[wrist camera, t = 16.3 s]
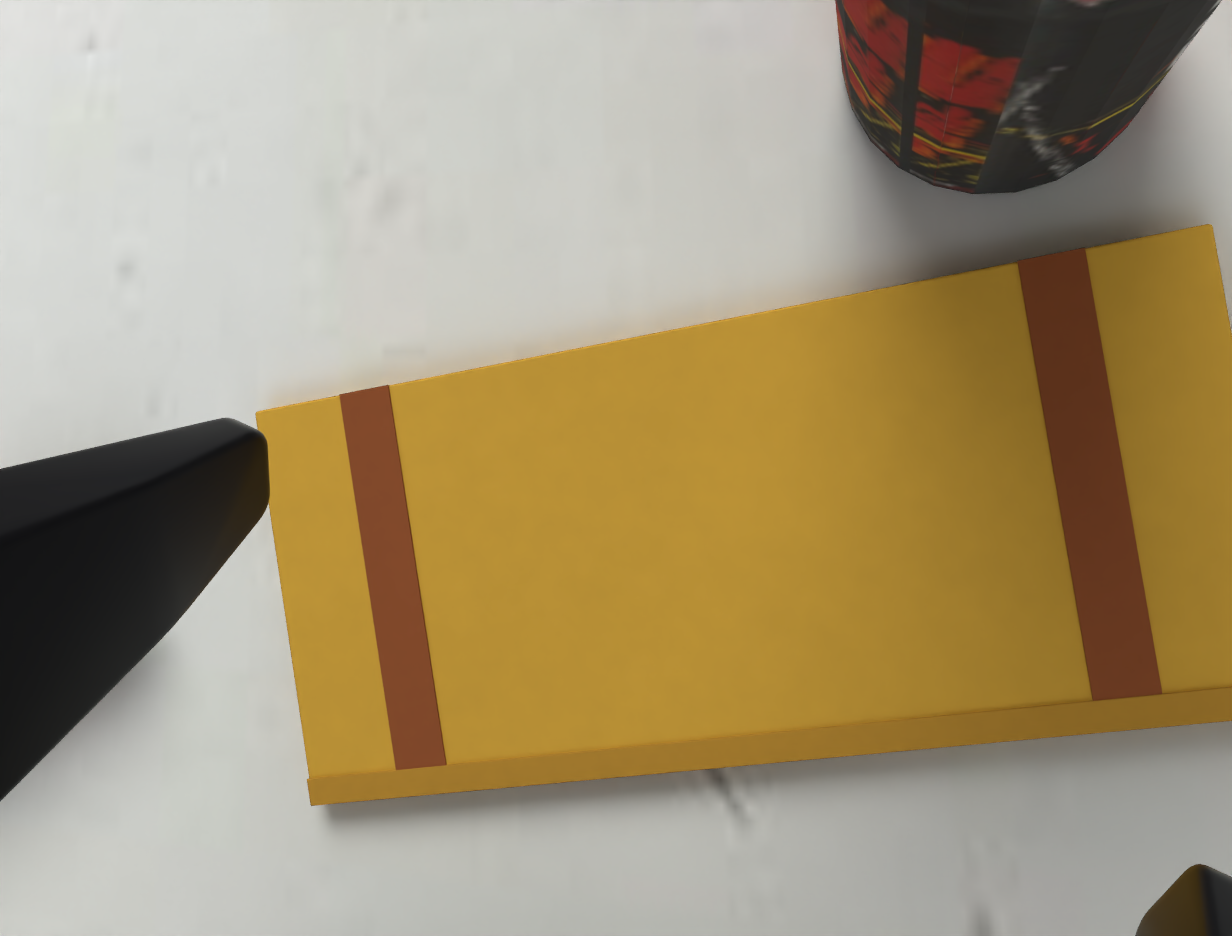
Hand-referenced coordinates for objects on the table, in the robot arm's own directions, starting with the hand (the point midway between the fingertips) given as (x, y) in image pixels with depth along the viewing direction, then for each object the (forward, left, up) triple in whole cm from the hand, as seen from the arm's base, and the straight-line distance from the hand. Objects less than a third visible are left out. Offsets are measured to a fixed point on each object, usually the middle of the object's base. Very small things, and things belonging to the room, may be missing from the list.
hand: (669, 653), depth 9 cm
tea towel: (0, +1, -12) cm, 13 cm away
